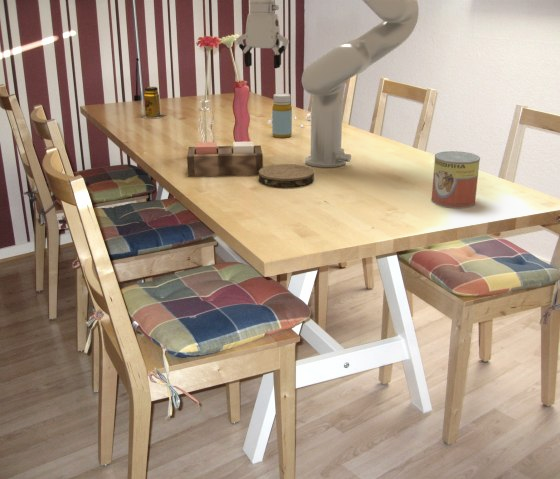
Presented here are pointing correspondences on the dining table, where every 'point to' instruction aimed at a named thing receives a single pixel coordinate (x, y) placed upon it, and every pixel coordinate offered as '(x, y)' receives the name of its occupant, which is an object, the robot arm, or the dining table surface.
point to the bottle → (282, 116)
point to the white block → (243, 147)
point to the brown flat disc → (286, 176)
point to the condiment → (152, 103)
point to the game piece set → (294, 118)
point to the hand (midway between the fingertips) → (262, 67)
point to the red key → (206, 148)
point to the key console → (224, 162)
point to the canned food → (455, 179)
